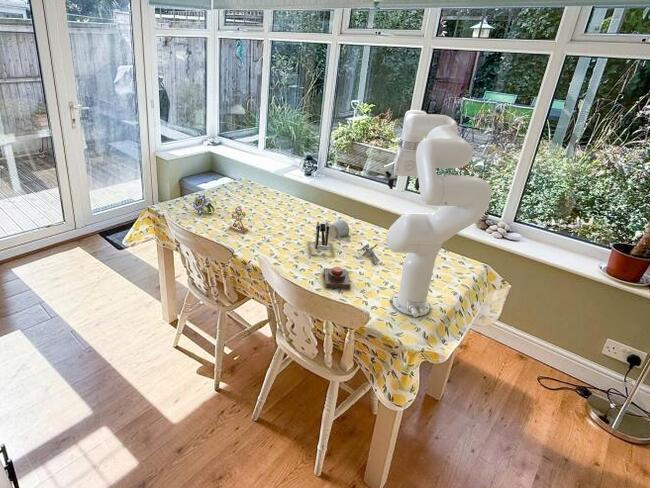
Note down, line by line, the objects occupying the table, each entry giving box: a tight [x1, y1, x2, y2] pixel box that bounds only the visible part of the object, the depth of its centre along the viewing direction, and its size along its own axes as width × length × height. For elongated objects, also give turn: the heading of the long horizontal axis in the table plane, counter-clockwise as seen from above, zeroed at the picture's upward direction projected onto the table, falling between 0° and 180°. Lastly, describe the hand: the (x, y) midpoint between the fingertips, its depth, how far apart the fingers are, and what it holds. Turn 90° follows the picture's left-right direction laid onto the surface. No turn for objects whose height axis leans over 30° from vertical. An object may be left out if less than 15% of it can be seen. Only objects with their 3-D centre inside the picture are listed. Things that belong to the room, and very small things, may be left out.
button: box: [332, 266, 343, 275], centre depth 160 cm, size 4×4×2 cm
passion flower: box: [190, 193, 218, 215], centre depth 221 cm, size 11×11×12 cm
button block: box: [323, 267, 351, 290], centre depth 161 cm, size 11×9×4 cm
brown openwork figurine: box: [228, 206, 249, 234], centre depth 200 cm, size 9×4×12 cm, turn 55°
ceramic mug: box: [328, 219, 351, 241], centre depth 194 cm, size 11×8×8 cm
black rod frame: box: [314, 221, 330, 250], centre depth 183 cm, size 12×10×13 cm
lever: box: [317, 223, 331, 250], centre depth 178 cm, size 12×5×2 cm
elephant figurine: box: [360, 243, 381, 265], centre depth 176 cm, size 10×6×9 cm
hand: (403, 188), depth 157 cm, fingers open, 9 cm apart
